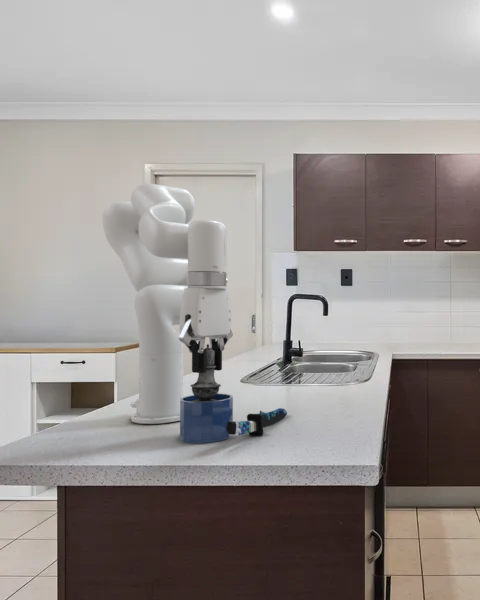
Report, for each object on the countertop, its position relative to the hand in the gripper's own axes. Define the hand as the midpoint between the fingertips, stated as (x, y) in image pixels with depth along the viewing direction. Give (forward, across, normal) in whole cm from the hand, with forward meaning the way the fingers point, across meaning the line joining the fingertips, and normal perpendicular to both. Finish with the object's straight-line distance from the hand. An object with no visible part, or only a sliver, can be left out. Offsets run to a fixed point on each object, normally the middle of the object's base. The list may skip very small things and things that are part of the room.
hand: (207, 370), depth 106 cm
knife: (+14, -8, +8) cm, 18 cm away
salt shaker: (+7, 0, 0) cm, 7 cm away
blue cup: (+14, 0, 0) cm, 14 cm away
